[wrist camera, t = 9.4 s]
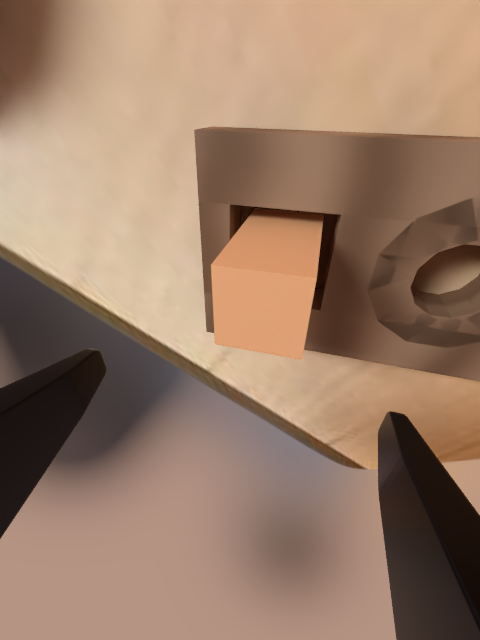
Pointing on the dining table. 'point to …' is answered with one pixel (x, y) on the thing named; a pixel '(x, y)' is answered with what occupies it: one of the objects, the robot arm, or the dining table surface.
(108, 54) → the dining table surface
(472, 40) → the dining table surface
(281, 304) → the square peg
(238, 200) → the socket board
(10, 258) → the dining table surface
